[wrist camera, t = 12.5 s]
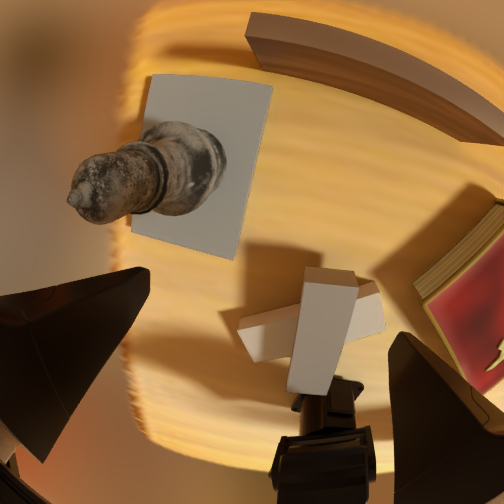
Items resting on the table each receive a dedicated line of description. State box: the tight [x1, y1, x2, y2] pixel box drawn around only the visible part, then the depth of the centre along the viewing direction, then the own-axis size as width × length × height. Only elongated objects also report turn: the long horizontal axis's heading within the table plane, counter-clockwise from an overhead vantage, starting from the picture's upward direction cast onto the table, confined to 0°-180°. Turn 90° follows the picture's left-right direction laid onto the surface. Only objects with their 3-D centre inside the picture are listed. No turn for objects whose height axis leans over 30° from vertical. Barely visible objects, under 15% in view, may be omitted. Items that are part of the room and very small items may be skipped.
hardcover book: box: [413, 198, 504, 395], centre depth 18 cm, size 12×21×4 cm, turn 46°
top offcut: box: [286, 266, 359, 395], centre depth 20 cm, size 4×11×2 cm, turn 178°
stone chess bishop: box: [67, 121, 227, 225], centre depth 13 cm, size 6×6×12 cm
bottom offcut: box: [237, 281, 386, 363], centre depth 22 cm, size 4×12×2 cm, turn 112°
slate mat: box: [131, 74, 273, 260], centre depth 19 cm, size 13×9×1 cm
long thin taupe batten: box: [245, 12, 504, 146], centre depth 12 cm, size 2×16×7 cm, turn 78°
